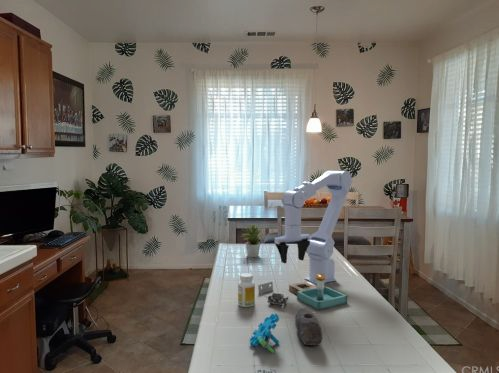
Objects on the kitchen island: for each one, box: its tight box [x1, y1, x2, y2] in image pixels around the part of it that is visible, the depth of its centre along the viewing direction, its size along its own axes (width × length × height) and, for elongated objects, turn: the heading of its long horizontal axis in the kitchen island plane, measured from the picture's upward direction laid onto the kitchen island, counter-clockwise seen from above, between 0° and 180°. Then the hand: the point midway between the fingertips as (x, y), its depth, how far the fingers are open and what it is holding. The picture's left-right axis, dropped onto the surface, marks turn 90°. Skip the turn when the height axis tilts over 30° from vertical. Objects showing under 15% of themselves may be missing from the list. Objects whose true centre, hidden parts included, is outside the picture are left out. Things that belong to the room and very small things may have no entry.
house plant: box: [240, 222, 263, 258], centre depth 181 cm, size 14×14×16 cm
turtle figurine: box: [266, 292, 288, 309], centre depth 118 cm, size 15×7×4 cm, turn 66°
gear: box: [249, 312, 280, 354], centre depth 95 cm, size 11×6×10 cm
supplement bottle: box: [237, 272, 256, 308], centre depth 121 cm, size 5×5×10 cm
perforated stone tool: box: [294, 307, 323, 347], centre depth 99 cm, size 15×5×7 cm, turn 5°
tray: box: [296, 285, 348, 312], centre depth 124 cm, size 12×11×2 cm
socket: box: [288, 281, 317, 295], centre depth 132 cm, size 7×7×2 cm
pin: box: [316, 274, 325, 301], centre depth 124 cm, size 3×3×8 cm
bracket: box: [257, 281, 289, 300], centre depth 128 cm, size 7×10×4 cm, turn 39°
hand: (292, 261), depth 135 cm, fingers open, 7 cm apart
